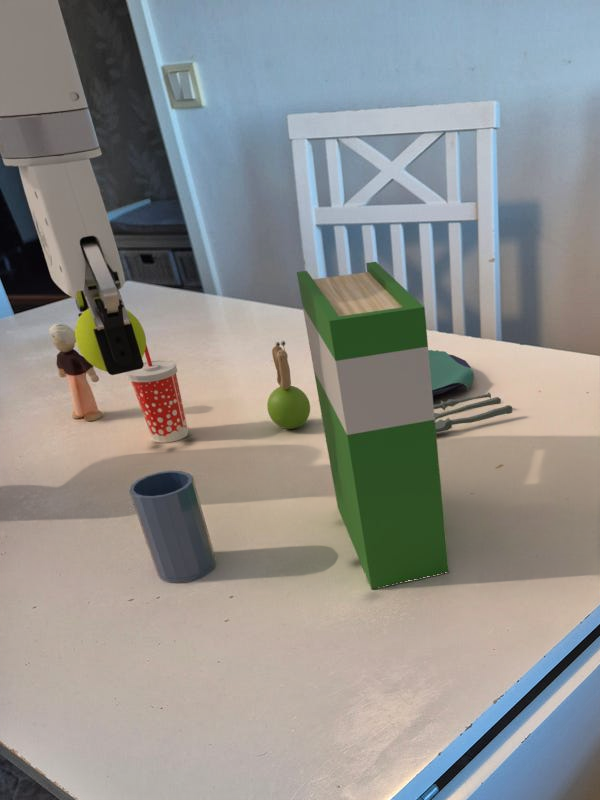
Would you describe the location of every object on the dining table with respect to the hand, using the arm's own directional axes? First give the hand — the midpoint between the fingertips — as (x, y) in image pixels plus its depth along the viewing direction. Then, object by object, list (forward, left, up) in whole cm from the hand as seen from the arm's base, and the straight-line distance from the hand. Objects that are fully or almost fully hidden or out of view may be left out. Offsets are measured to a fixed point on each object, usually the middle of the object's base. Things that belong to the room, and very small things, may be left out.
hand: (117, 360), depth 78 cm
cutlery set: (+30, +30, -18) cm, 47 cm away
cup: (+2, -9, -18) cm, 20 cm away
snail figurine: (+13, +24, -18) cm, 33 cm away
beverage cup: (-3, +27, -18) cm, 33 cm away
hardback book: (+22, -9, -18) cm, 30 cm away
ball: (0, 0, +2) cm, 2 cm away
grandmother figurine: (-15, +38, -18) cm, 45 cm away
